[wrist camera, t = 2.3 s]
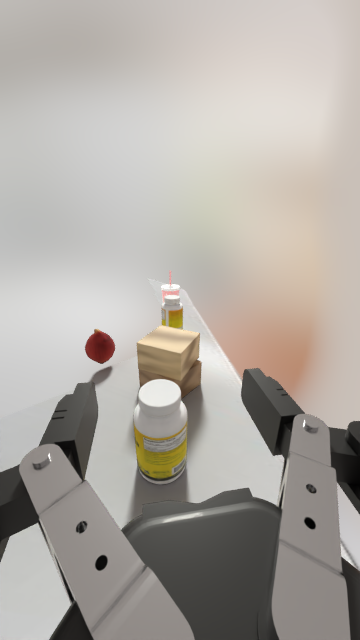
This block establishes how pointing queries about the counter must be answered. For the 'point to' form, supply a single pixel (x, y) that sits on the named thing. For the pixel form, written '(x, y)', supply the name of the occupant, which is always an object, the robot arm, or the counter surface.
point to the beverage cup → (170, 289)
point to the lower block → (185, 384)
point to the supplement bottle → (172, 312)
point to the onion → (100, 347)
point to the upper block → (168, 352)
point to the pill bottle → (160, 431)
